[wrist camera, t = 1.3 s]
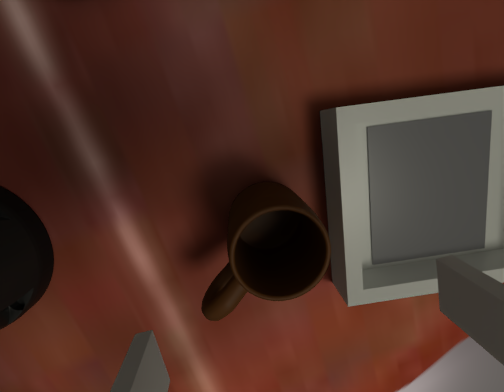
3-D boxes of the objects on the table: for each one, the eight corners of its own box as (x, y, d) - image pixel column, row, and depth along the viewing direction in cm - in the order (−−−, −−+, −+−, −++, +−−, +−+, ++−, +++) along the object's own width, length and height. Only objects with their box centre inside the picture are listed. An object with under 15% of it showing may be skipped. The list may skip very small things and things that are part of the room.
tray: (332, 282, 32) (348, 306, 28) (319, 110, 28) (336, 107, 24) (509, 255, 33) (552, 274, 28) (522, 84, 29) (574, 76, 24)
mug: (237, 294, 32) (239, 361, 23) (183, 249, 30) (162, 301, 21) (318, 215, 30) (355, 252, 21) (265, 163, 29) (281, 180, 20)
